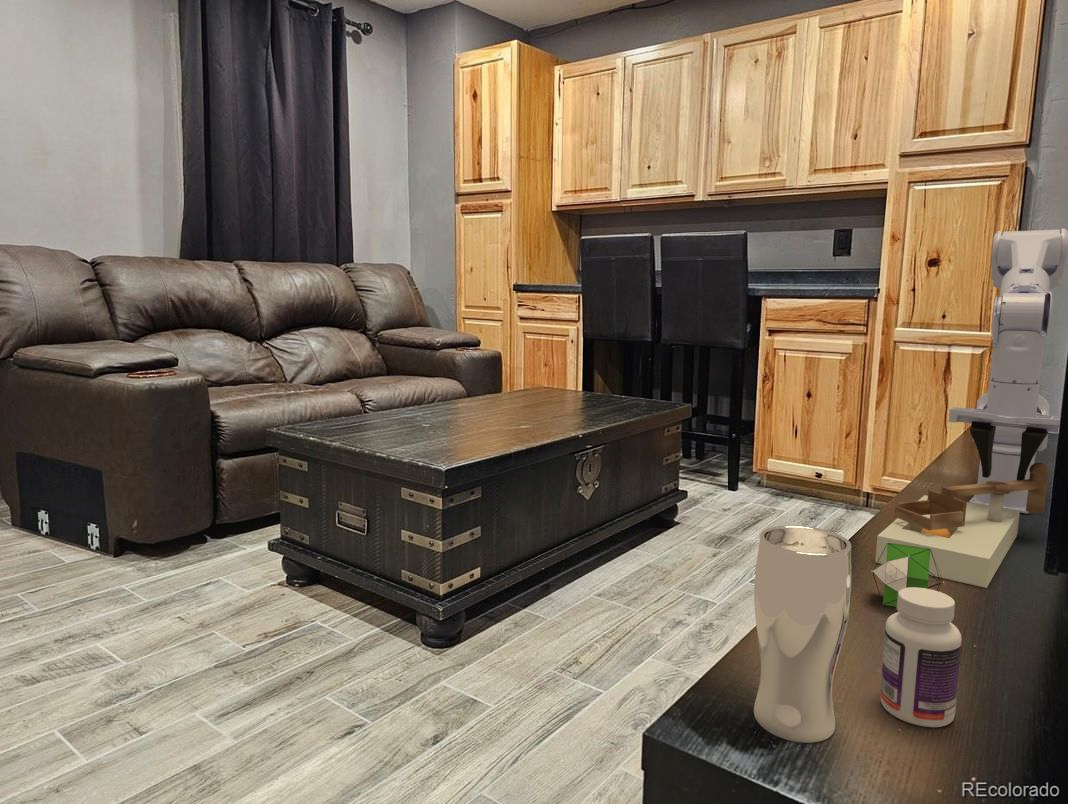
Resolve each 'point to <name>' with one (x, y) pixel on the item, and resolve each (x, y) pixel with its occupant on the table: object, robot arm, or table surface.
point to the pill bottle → (921, 659)
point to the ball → (937, 532)
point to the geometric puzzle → (904, 571)
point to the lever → (953, 510)
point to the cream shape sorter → (961, 542)
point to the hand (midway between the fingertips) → (1003, 478)
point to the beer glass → (800, 628)
